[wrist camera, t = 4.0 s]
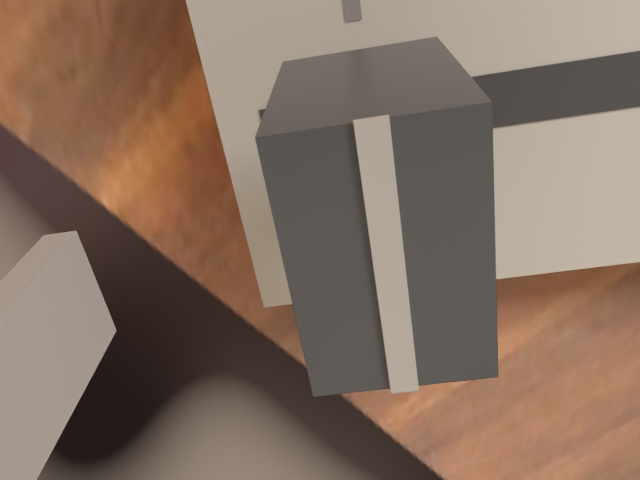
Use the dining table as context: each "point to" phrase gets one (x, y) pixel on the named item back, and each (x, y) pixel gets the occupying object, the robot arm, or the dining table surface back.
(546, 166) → the console
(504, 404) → the dining table surface
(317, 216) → the fader knob
